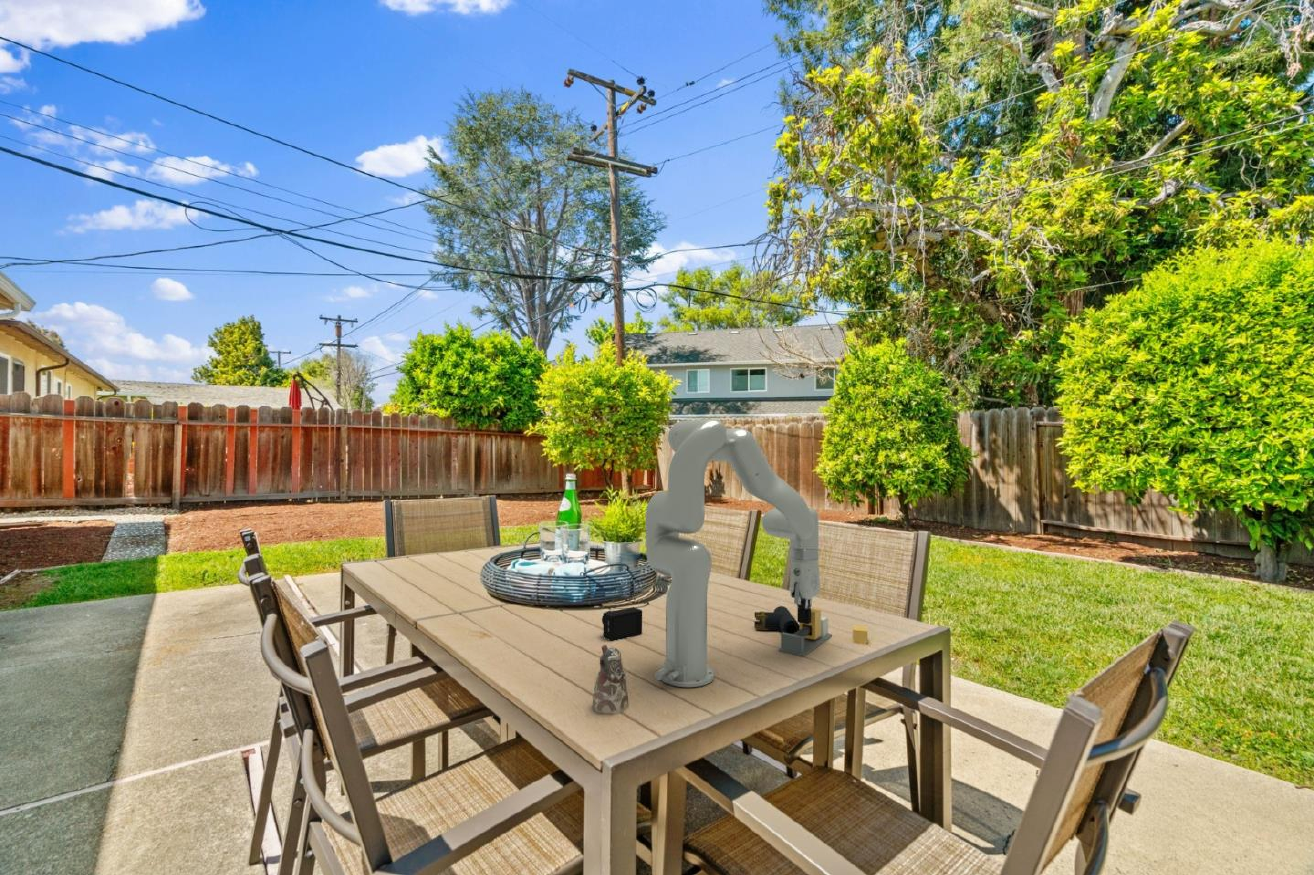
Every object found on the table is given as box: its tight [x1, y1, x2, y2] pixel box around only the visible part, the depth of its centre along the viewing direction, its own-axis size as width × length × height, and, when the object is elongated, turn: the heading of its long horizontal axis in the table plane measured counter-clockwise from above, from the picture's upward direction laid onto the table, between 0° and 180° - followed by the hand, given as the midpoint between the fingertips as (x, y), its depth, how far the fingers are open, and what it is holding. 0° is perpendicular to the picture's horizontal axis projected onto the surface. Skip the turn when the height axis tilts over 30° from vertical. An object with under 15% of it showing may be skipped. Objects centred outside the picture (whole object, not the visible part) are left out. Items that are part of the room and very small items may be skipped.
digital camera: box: [601, 606, 643, 642], centre depth 164 cm, size 10×5×7 cm, turn 127°
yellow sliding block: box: [798, 607, 822, 640], centre depth 160 cm, size 4×4×7 cm
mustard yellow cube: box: [852, 625, 868, 644], centre depth 160 cm, size 4×4×4 cm
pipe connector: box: [753, 605, 800, 634], centre depth 170 cm, size 12×5×15 cm
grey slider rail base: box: [778, 615, 833, 658], centre depth 158 cm, size 20×7×5 cm, turn 143°
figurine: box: [592, 644, 630, 715], centre depth 119 cm, size 7×7×12 cm
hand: (804, 622), depth 157 cm, fingers closed
